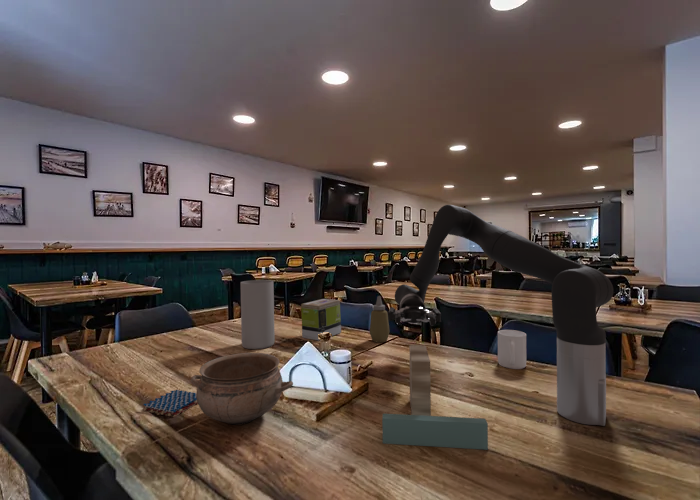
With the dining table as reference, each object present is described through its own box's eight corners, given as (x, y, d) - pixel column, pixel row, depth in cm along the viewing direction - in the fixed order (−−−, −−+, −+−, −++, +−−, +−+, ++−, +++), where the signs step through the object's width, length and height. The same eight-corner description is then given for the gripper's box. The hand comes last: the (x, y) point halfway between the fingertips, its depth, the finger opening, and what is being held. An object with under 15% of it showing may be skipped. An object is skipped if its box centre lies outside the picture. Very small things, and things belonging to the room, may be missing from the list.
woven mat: (174, 420, 81) (174, 411, 81) (140, 413, 85) (140, 404, 85) (207, 400, 91) (207, 393, 91) (175, 395, 95) (175, 387, 95)
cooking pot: (165, 434, 75) (163, 377, 74) (215, 395, 93) (214, 349, 93) (276, 445, 70) (275, 384, 69) (306, 402, 88) (305, 354, 88)
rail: (485, 443, 69) (485, 418, 69) (487, 449, 67) (487, 423, 67) (383, 437, 72) (382, 413, 72) (382, 443, 70) (382, 418, 70)
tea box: (324, 330, 161) (323, 298, 161) (341, 333, 155) (341, 299, 155) (301, 337, 149) (300, 302, 149) (319, 341, 143) (318, 305, 143)
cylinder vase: (270, 349, 133) (269, 283, 132) (237, 350, 133) (235, 283, 132) (277, 340, 145) (276, 279, 145) (247, 340, 145) (246, 280, 145)
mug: (527, 375, 104) (527, 340, 104) (497, 371, 108) (496, 337, 107) (525, 362, 115) (525, 331, 115) (498, 359, 118) (498, 328, 118)
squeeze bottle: (366, 342, 140) (366, 297, 140) (373, 337, 148) (372, 294, 147) (386, 344, 137) (385, 298, 137) (392, 339, 145) (391, 295, 144)
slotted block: (410, 400, 89) (409, 345, 88) (426, 401, 88) (425, 345, 88) (412, 425, 77) (411, 361, 77) (430, 426, 76) (430, 361, 76)
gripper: (389, 295, 110) (388, 306, 94) (436, 296, 108) (443, 307, 92) (389, 318, 110) (388, 334, 94) (435, 320, 108) (443, 336, 92)
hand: (415, 321), depth 93 cm, fingers open, 8 cm apart
